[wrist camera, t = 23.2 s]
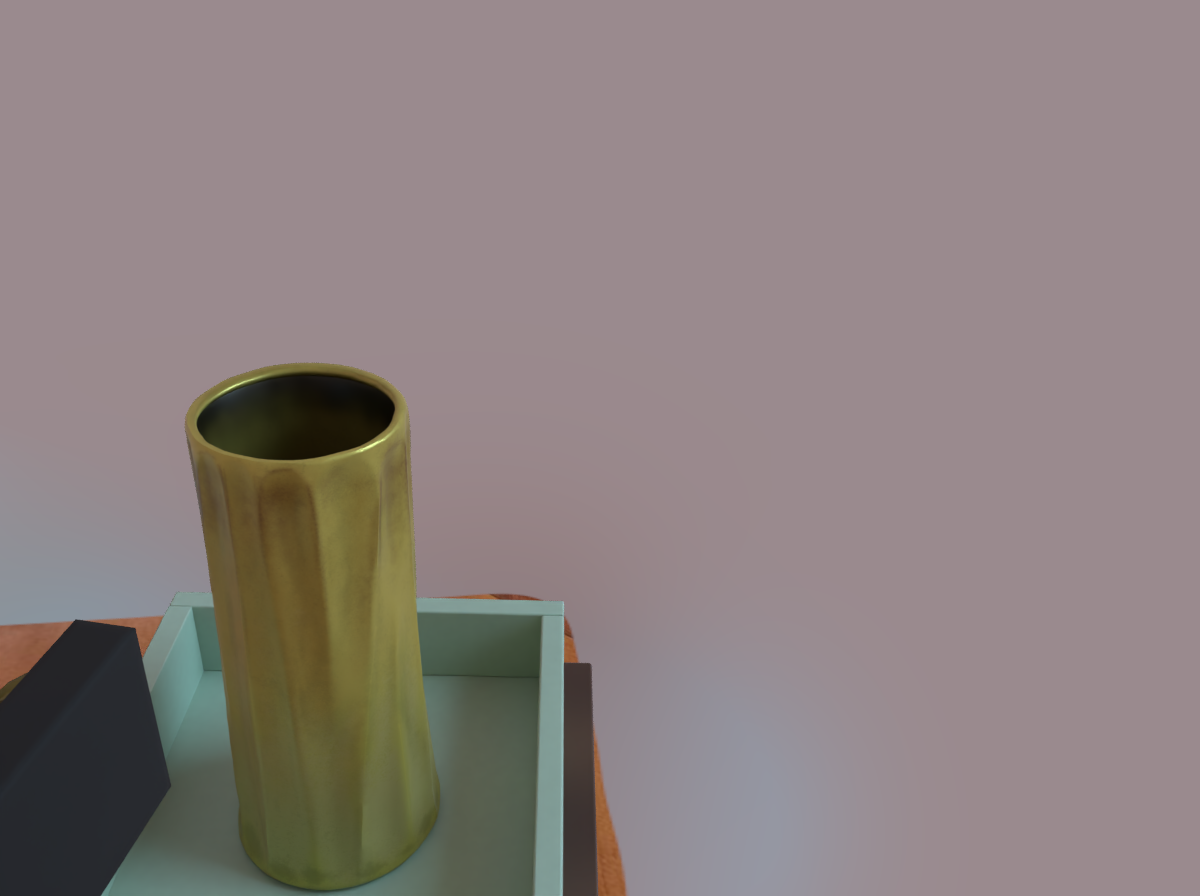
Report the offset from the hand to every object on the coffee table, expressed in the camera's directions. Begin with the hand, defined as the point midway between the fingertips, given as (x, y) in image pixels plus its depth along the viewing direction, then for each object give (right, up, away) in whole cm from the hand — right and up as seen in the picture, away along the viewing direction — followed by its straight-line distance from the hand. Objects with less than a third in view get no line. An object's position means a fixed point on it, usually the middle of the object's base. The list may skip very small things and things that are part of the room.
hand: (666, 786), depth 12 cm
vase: (-9, -7, +20) cm, 23 cm away
